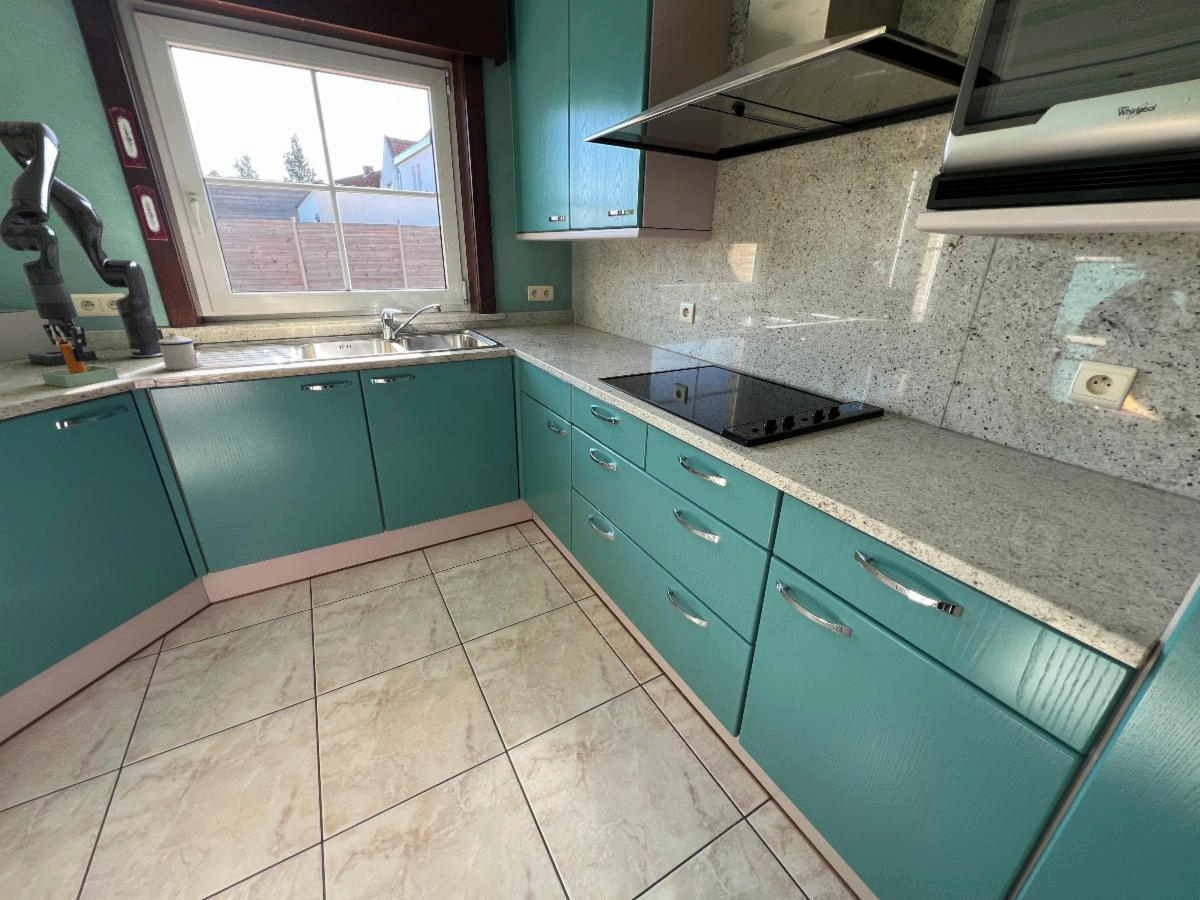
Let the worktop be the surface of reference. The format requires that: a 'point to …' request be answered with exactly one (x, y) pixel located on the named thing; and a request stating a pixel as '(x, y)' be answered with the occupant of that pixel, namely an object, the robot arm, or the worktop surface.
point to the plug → (72, 360)
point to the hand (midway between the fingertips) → (75, 360)
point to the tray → (80, 376)
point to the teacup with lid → (178, 352)
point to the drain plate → (56, 357)
